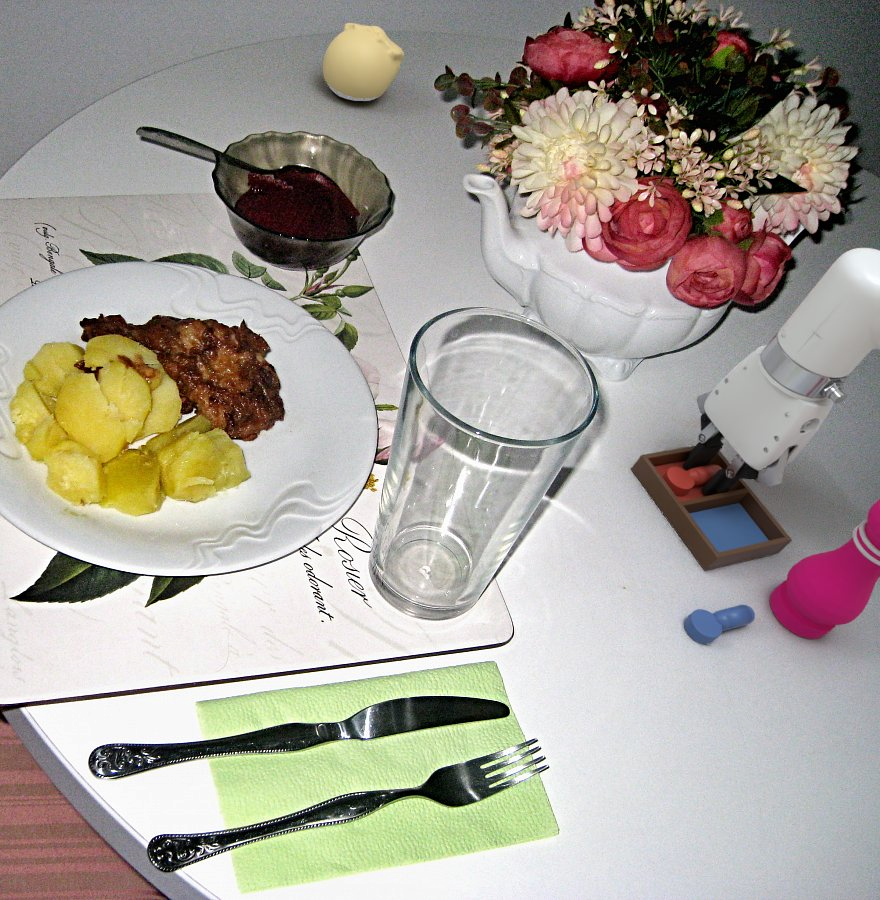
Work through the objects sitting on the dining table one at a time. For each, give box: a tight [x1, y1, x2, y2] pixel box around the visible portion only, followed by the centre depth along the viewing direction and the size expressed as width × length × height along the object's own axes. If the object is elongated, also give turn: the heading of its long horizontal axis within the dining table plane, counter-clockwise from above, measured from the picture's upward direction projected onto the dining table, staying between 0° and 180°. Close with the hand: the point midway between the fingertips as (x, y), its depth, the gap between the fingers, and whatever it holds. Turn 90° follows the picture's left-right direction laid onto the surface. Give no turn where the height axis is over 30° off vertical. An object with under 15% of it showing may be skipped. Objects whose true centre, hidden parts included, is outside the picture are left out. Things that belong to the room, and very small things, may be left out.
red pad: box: [655, 461, 748, 513], centre depth 102 cm, size 10×7×2 cm
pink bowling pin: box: [769, 498, 880, 640], centre depth 86 cm, size 7×7×20 cm
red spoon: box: [662, 465, 722, 496], centre depth 102 cm, size 8×3×2 cm, turn 109°
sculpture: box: [322, 22, 405, 99], centre depth 146 cm, size 12×12×11 cm
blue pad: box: [689, 503, 769, 553], centre depth 98 cm, size 9×6×1 cm, turn 109°
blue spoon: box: [683, 604, 756, 645], centre depth 90 cm, size 8×3×2 cm, turn 109°
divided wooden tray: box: [630, 445, 793, 572], centre depth 100 cm, size 11×14×2 cm
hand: (703, 478), depth 103 cm, fingers open, 3 cm apart
